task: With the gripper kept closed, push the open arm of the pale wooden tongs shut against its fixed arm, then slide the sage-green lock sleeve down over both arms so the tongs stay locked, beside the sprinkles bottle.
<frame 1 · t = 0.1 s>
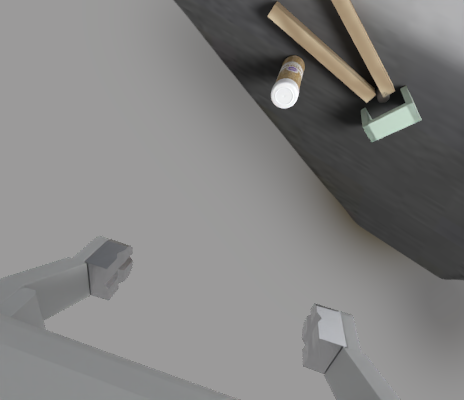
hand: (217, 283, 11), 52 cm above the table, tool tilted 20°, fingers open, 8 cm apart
sprinkles bottle: (293, 66, 53), on the table
tong arm: (324, 54, 48), point 2 cm above the table, hinge at 15.0°
lock sleeve: (388, 114, 51), point 3 cm above the table, slide at 0.0 cm
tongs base: (381, 90, 51), on the table
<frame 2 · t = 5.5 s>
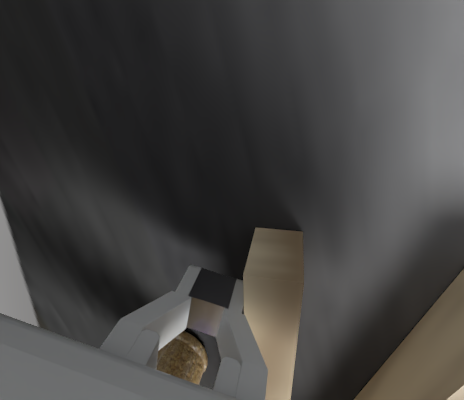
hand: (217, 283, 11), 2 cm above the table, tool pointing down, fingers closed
sprinkles bottle: (176, 343, 17), on the table
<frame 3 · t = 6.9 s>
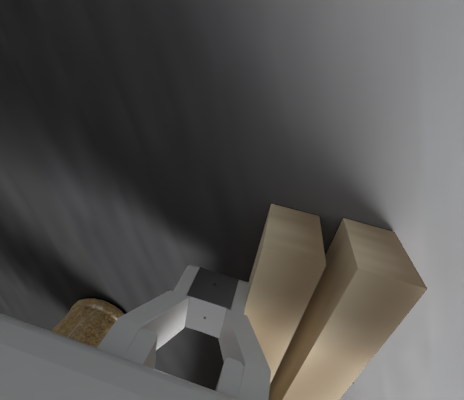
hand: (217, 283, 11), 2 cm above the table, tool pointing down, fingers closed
sprinkles bottle: (107, 317, 18), on the table
tong arm: (234, 396, 15), point 2 cm above the table, hinge at 0.8°, touching gripper
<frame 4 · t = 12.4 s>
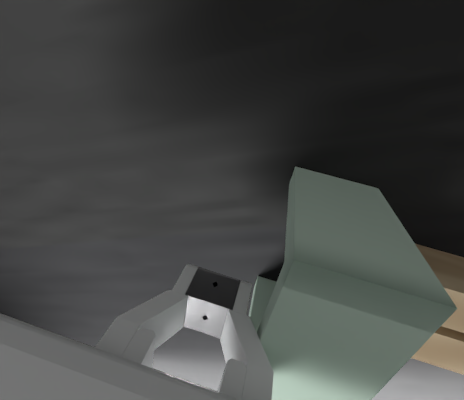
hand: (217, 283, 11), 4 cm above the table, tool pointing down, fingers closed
lock sleeve: (309, 292, 12), point 3 cm above the table, slide at 1.5 cm, touching gripper
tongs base: (339, 263, 15), on the table
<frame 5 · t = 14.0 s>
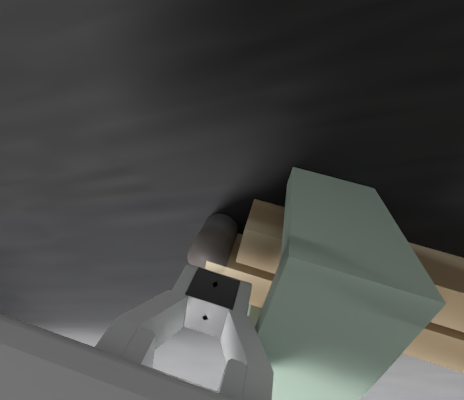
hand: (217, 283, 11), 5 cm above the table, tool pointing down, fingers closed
lock sleeve: (306, 290, 12), point 4 cm above the table, slide at 8.3 cm, touching gripper
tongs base: (221, 228, 16), on the table
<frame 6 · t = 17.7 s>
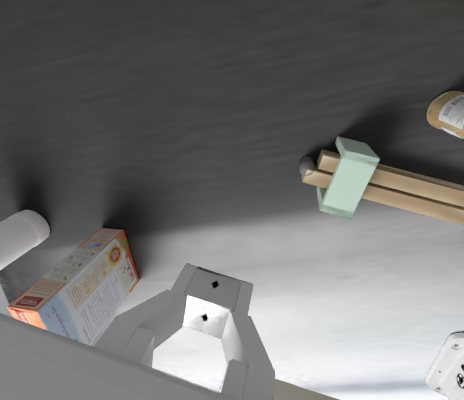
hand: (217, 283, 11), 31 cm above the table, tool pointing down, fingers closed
sprinkles bottle: (445, 109, 33), on the table
cracker box: (121, 254, 58), on the table
bottle: (36, 223, 59), on the table
tong arm: (407, 181, 36), point 2 cm above the table, hinge at -0.1°
lock sleeve: (343, 176, 36), point 4 cm above the table, slide at 8.3 cm
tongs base: (306, 162, 39), on the table
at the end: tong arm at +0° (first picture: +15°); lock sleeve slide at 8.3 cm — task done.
